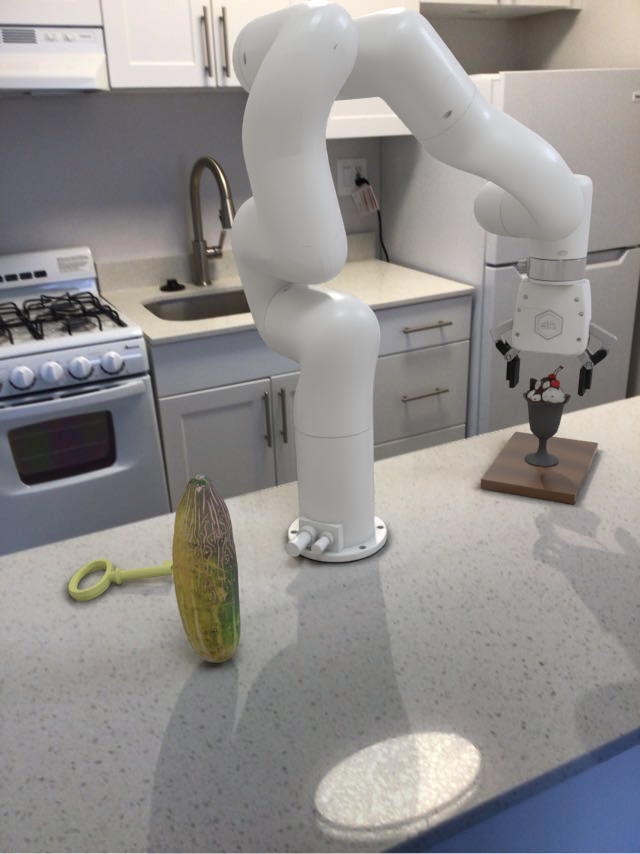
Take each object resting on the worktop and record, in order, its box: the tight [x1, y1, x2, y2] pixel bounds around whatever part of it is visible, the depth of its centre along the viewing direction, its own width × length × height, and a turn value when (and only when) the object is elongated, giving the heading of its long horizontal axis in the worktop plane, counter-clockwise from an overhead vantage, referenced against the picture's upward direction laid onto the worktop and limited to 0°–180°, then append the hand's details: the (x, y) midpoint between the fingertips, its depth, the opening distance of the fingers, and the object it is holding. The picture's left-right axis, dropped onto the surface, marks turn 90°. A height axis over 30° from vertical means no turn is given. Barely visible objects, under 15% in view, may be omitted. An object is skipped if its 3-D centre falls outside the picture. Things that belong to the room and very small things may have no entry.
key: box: [67, 558, 173, 602], centre depth 89 cm, size 7×12×2 cm, turn 108°
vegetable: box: [171, 473, 241, 664], centre depth 72 cm, size 6×6×20 cm
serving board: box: [480, 431, 599, 505], centre depth 113 cm, size 20×13×2 cm, turn 153°
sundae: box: [522, 365, 572, 466], centre depth 110 cm, size 7×7×15 cm
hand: (547, 389), depth 109 cm, fingers open, 9 cm apart
